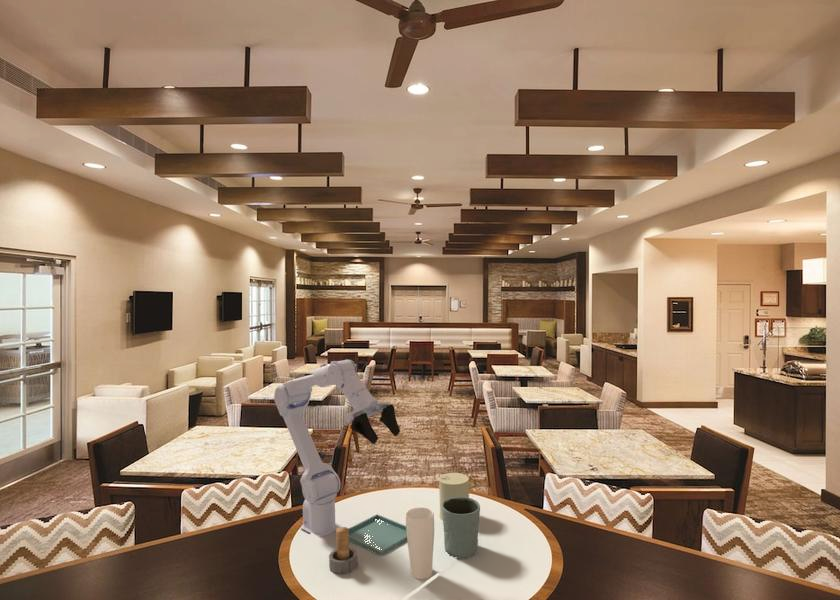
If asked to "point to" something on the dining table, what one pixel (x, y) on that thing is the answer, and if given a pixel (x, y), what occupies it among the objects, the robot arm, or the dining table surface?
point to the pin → (342, 543)
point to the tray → (378, 534)
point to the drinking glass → (420, 541)
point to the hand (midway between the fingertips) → (387, 437)
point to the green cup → (461, 526)
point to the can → (452, 487)
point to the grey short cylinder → (343, 562)
